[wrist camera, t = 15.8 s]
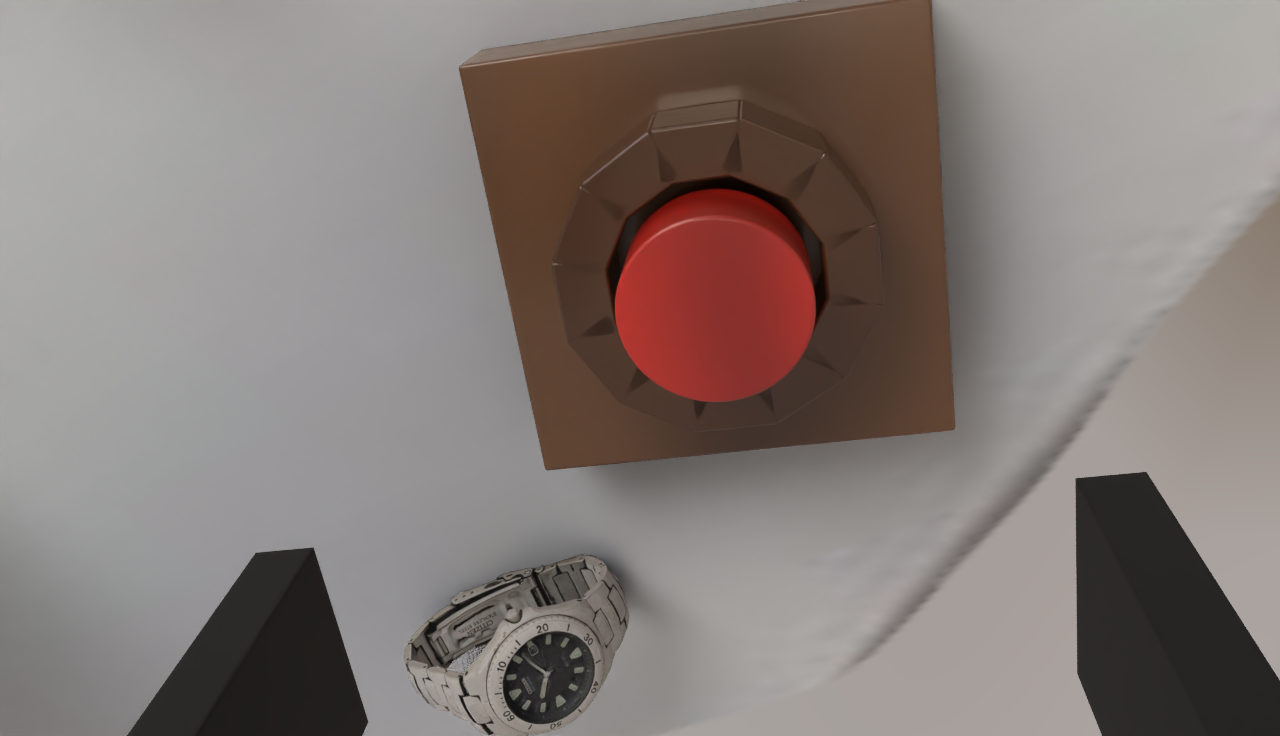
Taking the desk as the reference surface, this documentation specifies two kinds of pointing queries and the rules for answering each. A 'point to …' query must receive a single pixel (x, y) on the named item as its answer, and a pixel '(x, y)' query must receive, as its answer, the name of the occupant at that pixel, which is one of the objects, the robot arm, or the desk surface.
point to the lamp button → (716, 296)
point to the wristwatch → (523, 647)
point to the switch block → (725, 159)
